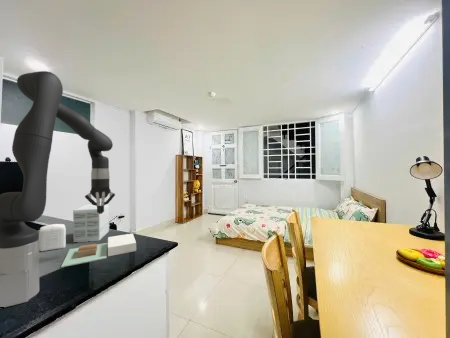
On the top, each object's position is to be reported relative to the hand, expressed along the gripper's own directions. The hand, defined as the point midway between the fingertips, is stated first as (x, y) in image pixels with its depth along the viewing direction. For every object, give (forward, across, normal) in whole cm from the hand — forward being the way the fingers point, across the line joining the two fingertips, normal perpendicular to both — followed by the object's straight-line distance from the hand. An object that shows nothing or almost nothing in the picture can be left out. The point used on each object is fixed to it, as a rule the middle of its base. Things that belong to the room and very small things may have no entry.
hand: (100, 213), depth 96 cm
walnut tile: (+17, -5, 0) cm, 18 cm away
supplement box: (+19, -5, +27) cm, 33 cm away
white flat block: (+19, +9, 0) cm, 21 cm away
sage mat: (+19, -6, 0) cm, 19 cm away
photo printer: (+19, -21, +16) cm, 32 cm away
